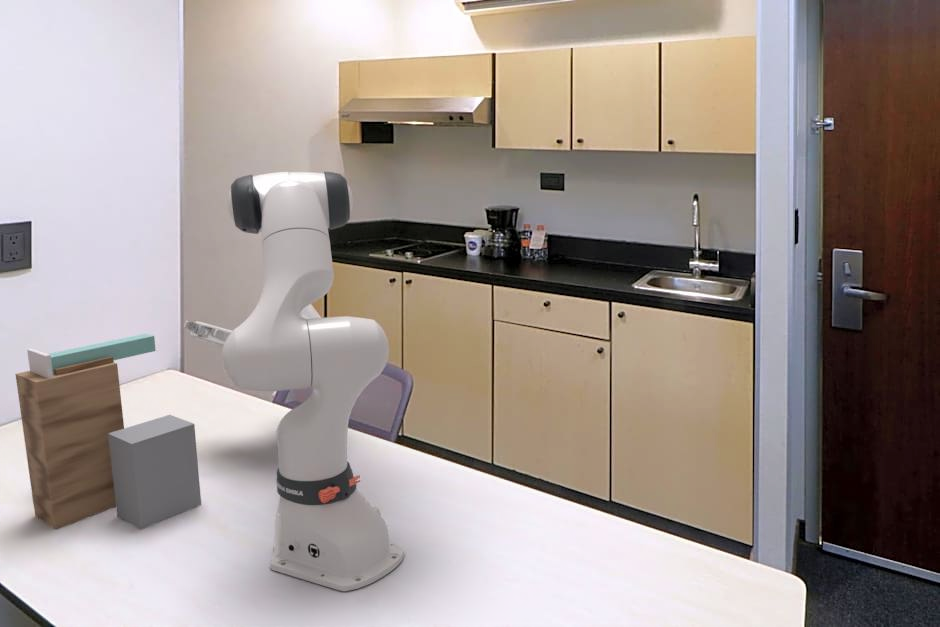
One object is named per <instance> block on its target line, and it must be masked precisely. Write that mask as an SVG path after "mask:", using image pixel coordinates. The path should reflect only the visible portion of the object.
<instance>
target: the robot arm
mask: <svg viewBox="0 0 940 627" xmlns="http://www.w3.org/2000/svg"><path fill="white" fill-rule="evenodd" d="M228 192H229V193H228V196H227V209H228V213H229V215H230V218H231V220H232V221H233V223H234V225H235V227H236V228H237V229H239V231H241V232H242V233H247V234H254V235H255V234H256V235H258V234H259V233H261V244H262V245H261V247H262V260H263V264H262V265H263V283H262V284H263V285H262V290H261V295H260V298H259V300H258V302H257V304H256V306H255V308H254V309H253V311H252V312H251V313H250V314H249V316H248V317H247V318H246V319H245V320H244V321H243V322H242V323H241V324H240V325H238V326H237V327H235V328H234V329H233V330H232V329H228V328H224V327H220V326H217V325H213V324H210V323H206V322H202V321H198V320H197V321H189V320H185V323H184V325H183V329H184V330H186V331H188V332H190V334H189V335H190V336H191V337H192V338H194V339H196V340H199V341H202V342H205V343H207V344H210V345H214V346H216V347H219V348H222V351H221V352H222V353H221V363H222V368H223V371H224V374H225V376H226V377H227V379H228V380H229V381H230V382H231V384H232V385H233V386H235V387H236V388H237V389H239V390H244V391H246V390H247V391H256V392H267V393H268V392H270V393H271V392H280V391H290V390H291V391H293V390H297V389H298V390H301V389H313V390H312V392H311V394H310V396H309V397H308V398H307V399H306V400H305V401H303V403H301V404H299V405H298V406H295V407H293V408H292V409H291V410H289V411H287V413H286V414H285V415H284V416H283V417H281V419H280V421H279V423H278V425H277V429H276V440H277V441H276V442H277V458H278V468H277V469H276V478H275V483H276V492H277V494H278V495H279V501H278V505H277V509H276V510H277V511H276V515H275V520H274V522H275V525H274V546H273V555H272V557H271V558H270V561H269V568H270V570H272V571H273V572H279V573H281V574H285V575H288V576H291V577H294V578H297V579H301V580H304V581H307V582H311V583H313V584H316V585H320V586H324V587H327V588H330V589H334V590H337V591H340V592H349V591H353V590H357V589H360V588H362V587H363V588H364V587H365V586H368V585H370V584H372V583H374V582H376V581H378V580H380V579H381V578H383V577H384V576H386V575H388V574H389V573H390V572H392V571H393V570H394V569H396V568H397V567H398V566H399V565H400V564H401V562H402V561H403V559H404V557H405V549H404V548H403V547H401V546H400V545H399V544H397V543H396V542H394V541H392V540H391V539H390V538H389V532H388V531H389V530H388V527H387V526H388V525H387V523H386V521H385V520H384V518H383V517H382V516H381V515H382V514H381V511H380V509H379V507H377V506H373V505H371V504H370V502H369V501H368V499H366V498H365V497H364V495H363V494H362V493H361V492H360V491H359V490H358V489H357V484H358V483H360V482H361V480H360V478H361V475H356V476H355V475H354V472H353V468H352V467H351V464H350V462H349V461H348V433H349V432H348V430H349V422H350V421H349V420H350V417H351V416H350V415H351V413H352V410H353V408H354V406H355V403H356V401H357V399H358V398H359V396H361V394H362V392H363V391H364V390H365V389H366V387H368V385H369V384H370V383H371V382H372V381H374V380H375V379H377V378H378V377H379V376H380V375H381V373H383V371H384V369H385V367H386V365H387V363H388V359H389V355H390V344H389V340H388V337H387V335H386V332H385V331H384V329H383V327H382V326H381V325H380V323H378V322H377V320H375V319H373V318H365V317H358V316H356V317H355V316H346V315H345V316H343V315H342V316H329V317H327V316H326V317H322V316H321V315H320V314H319V313H318V311H317V310H316V308H315V307H314V306H313V304H314V303H315V302H317V301H318V300H320V299H321V298H323V297H324V296H326V295H327V293H329V291H330V290H331V288H332V286H333V284H334V279H335V273H334V266H333V264H334V263H333V258H332V250H331V240H330V235H329V230H335V229H338V228H342V227H344V226H345V225H346V224H347V223H348V222H349V221H350V220H351V219H350V218H351V215H352V211H353V207H354V197H353V193H352V188H351V187H350V185H349V184H348V181H347V179H346V178H345V177H344V176H343V175H342V174H341V173H337V172H333V171H324V173H323V172H314V171H312V172H310V171H309V172H308V171H296V172H295V171H294V172H289V171H277V172H269V173H263V174H258V175H257V174H256V175H253V174H247V175H243V176H241V177H238V178H236V179H235V180H234V181H233V182H231V185H230V189H229V191H228ZM358 479H359V480H358Z"/></svg>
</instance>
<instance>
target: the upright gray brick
mask: <svg viewBox="0 0 940 627" xmlns="http://www.w3.org/2000/svg"><path fill="white" fill-rule="evenodd" d="M108 439H109V448H110V457H111V465H112V474H113V483H114V492H115V501H116V507H115V508H116V516H117V517H118V518H119V519H121V520H123V521H124V522H126V523H128V524H130V525H132V526H134V527H135V528H137V529H139V530H144V529H146V528H148V527H150V526H152V525H153V526H154V525H155V524H157V523H158V524H159V523H160V522H162V521H164V520H167V519H170V518H172V517H174V516H177V515H180V514H182V513H184V512H186V510H187V511H189V510H192V509H194V508H196V507H198V505H199V506H200V505H202V497H201V496H202V495H201V485H200V474H199V464H198V463H199V461H198V453H197V451H198V450H197V440H196V429H195V423H193V422H191V421H190V422H189V421H188V420H185V419H183V418H180V417H178V416H174V415H172V414H168V415H165V416H162V417H158V418H155V419H151V420H147V421H144V422H142V423H138V424H134V425H131V426H129V427H124V429H121V430H118V431H114V432H111V433H108ZM181 512H182V513H181Z"/></svg>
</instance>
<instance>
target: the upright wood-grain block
mask: <svg viewBox="0 0 940 627" xmlns="http://www.w3.org/2000/svg"><path fill="white" fill-rule="evenodd" d="M119 377H120V376H119V369H118V362H117V363H116V362H115V360H113V357H107V358H102V359H98V360H93V361H89V362H84V363H80V364H75V365H71V366H66V367H62V368H57V369H55V374H53V378H49V379H48V378H46V377H43V376H40V375H38V374H35V373H33V372H30V370H26V371H24V372H18V373H15V380H16V387H17V389H16V390H17V394H18V402H19V409H20V416H21V423H22V425H21V426H22V431H23V439H24V446H25V453H26V460H27V465H28V467H27V468H28V474H29V482H30V489H31V495H32V496H31V497H32V504H33V509H34V516H35V518H36V519H37V518H38V519H39V520H40V521H42V522H43V523H45V524H46V525H48V526H50V527H51V528H53V529H54V530H58V529H61V528H64V527H66V526H69V525H70V524H74V523H77V522H79V521H82V520H83V519H84V520H85V519H87V518H89V517H92V516H94V515H97V514H99V513H102V512H105V511H108V510H110V509H113V508H116V507H115V506H116V501H115V492H114V483H113V474H112V465H111V457H110V448H109V439H108V433H111V432H114V431H118V430H121V429H124V428H125V424H124V415H123V414H124V413H123V405H122V396H121V386H120V378H119Z"/></svg>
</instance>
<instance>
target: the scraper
mask: <svg viewBox="0 0 940 627" xmlns="http://www.w3.org/2000/svg"><path fill="white" fill-rule="evenodd" d="M155 340H156V339H155V335H153V334H149V333H143V334H136V335H133V336H128V337H124V338H118V339H112V340H109V341H104V342H98V343H94V344H89V345H84V346H80V347H75V348H69V349H65V350H64V349H63V350H60V351H56V352H50V353H45V352H44V351H40V350H37V349H35V348H28V349H27V358H28V366H29V371H30V372H33V373H35V374H38V375H40V376H43V377H46V378H48V379H49V378H53V374H55V369H57V368H62V367H66V366H71V365H75V364H80V363H84V362H89V361H93V360H98V359H102V358H107V357H113V360H114V361H117V360H121V359H122V360H123V359H126V358H131V357H135V356H140V355H143V354H148V353H152V352H157V350H156V341H155Z"/></svg>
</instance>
